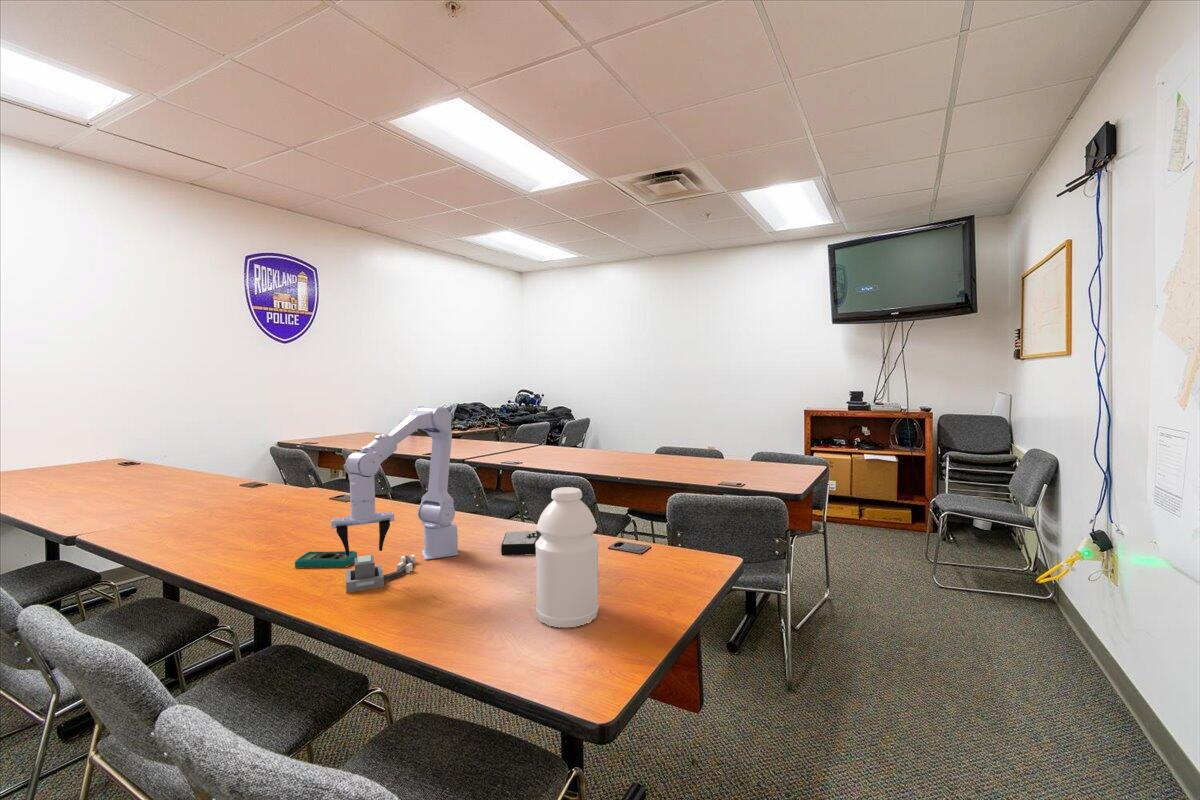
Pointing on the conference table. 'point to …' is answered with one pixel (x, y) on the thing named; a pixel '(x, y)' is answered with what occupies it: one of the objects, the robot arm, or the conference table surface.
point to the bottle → (566, 561)
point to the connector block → (364, 567)
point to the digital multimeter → (326, 559)
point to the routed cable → (402, 567)
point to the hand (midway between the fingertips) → (364, 552)
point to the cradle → (364, 580)
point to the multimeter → (519, 542)
